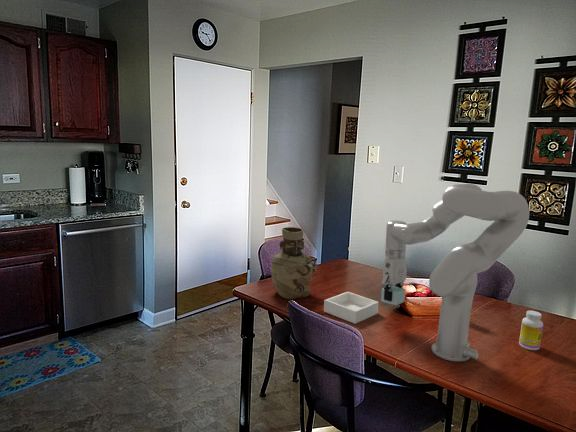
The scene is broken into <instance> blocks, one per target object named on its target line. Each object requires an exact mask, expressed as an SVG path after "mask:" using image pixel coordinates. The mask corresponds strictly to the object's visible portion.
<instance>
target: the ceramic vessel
mask: <svg viewBox="0 0 576 432" xmlns="http://www.w3.org/2000/svg"><path fill="white" fill-rule="evenodd" d="M281 234H282V238H283V239H282V240H281V241H280V242H279V249H280V250H281V251H280V252H278V253H277V254H276V255H274V256H273V258H272V261H271V265H270V273H271V280H272V284H273V288H274V289H275V292H276V293H277V294H278V295H279V296H280V297H281V298H283V299H284V300H296V299H303V298H304V299H305V298H308V296H309V295H310V282H311V281H312V278H313V277H312V276H313V273H314V274H317V269H318V264H317V263H316V262H313V261H312V259H311V257H310V256H309V255H308V254H307V253H305V252H304V251H303V250H304V249H305V242H304V240H302V239H303V236H304V229H303V228H300V227H295V226H291V227H290V226H288V227H283V228H282V229H281Z"/></svg>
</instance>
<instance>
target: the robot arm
mask: <svg viewBox="0 0 576 432" xmlns="http://www.w3.org/2000/svg"><path fill="white" fill-rule="evenodd" d="M465 216H466V217H471V218H474V219H478V220H481V221H488V222H492V221H494V222H492V223H491V224H490V225H488V226H487V227H486V228H485V229H484V230H483V232H481V234H480V235H479V236H478V237H477V238H476V239H475V240H474V241H471V242H468V243H465V244H464V243H463V244H460V245H458V246H455V247H454V248H452V249H451V250H450V251H449V252H448V253H447V254H446V255H445V257H444V258H443V259H442V260H441V261H440V262H439V263H438V265H436V267H435V268H434V269H433V270H432V272H431V274H430V276H429V280H428V284H429V288H430V290H431V292H432V294H433V293H434V294H436V295H437V296H440V297H442V302H441V303H440V310H439V318H438V328H437V329H438V330H437V336H436V337H437V339H436V342H433V344H432V345H431V351H432V353H433V354H434V355H435V356H437V357H438V358H440V359H443V360H446V361H450V362H456V363H457V362H466V361H468V360H470V358H472V359H475V360H477V359H478V358H479V353H478V350H476V349H473V348H471V347H470V345H471V343H470V342H468V338H469V337H468V336H469V328H470V321H471V312H472V306H473V300H474V296H475V293H476V289H477V285H478V275H477V274H479V273H483V272H486V271H487V270H489V269H490V268H491V267H492V266H493V265H494V264H495V263H496V261H497V260H499V259H500V258H501V256H502V255H503V254H505V252H506V251H507V250H508V249H509V248H510V247H511V245H513V244H514V243H515V241H517V240H518V239H519V238H520V236H522V234H523V232H524V231H525V229H526V228H527V226H528V223H529V219H530V207H529V204H528V202H527V199H526V198H525V197H524V196H523V195H522V194H520V193H519V192H516V191H513V190H498V191H486V190H483V189H482V188H481V187H480V186H478V185H476V184H474V183H461V184H459V183H458V184H453V185H450V186H449V187H447V188H446V189H445V190H444V192H443V193H442V199H440V200H439V201H438V202H436V203H435V204H434V205H433V206H432V215H431V216H430V217H427V218H426V219H424V220H423V221H420V222H414V223H413V222H412V223H406V221H404V220H390V221H387V223H386V229H385V230H386V231H385V251H384V253H385V254H384V257H385V258H384V264H383V271H382V281H381V285H382V288H384V300H387V301H390V302H391V301H392V291H391V290H392V286H395V287H399V288H403V287H404V282H405V281H406V280H407V258H406V250H407V246H409V245H417V244H421V243H426V242H429V241H431V240H433V239H435V238H437V237H438V236H440V235H442V234H443V233H444V232H445V231H446V230H448V228H450V226H451V225H452V224H455V222H457V221H459V220H460V219H462V218H463V217H465ZM389 286H390V287H389Z"/></svg>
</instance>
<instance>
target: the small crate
mask: <svg viewBox="0 0 576 432" xmlns="http://www.w3.org/2000/svg"><path fill="white" fill-rule="evenodd" d="M388 286H389V287H390V285H388ZM395 286H396V285H393V286H392V290H391V291H392V301H391V302H390V301H387V300H384V288H383V287H382V288H381V292H380V293H381V296H380V297H381V299H380V302H382V303H386V304H388V305H389V304H390V305H393V306H398V305H400V304H403V303H404V302H405V301H406V288H403V287H402V288H399V287H395Z"/></svg>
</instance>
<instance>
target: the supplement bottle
mask: <svg viewBox="0 0 576 432" xmlns="http://www.w3.org/2000/svg"><path fill="white" fill-rule="evenodd" d="M525 314H526V315H525V316H526V317H524V318H522V321H521V327H520V335H519V341H518V344H519V346H520V347H521V348H523V349H526V350H530V351H538V350H540V349H541V341H542V335H543V330H544V322H543V321H542V320H541V319H542V315H543V314H542V313H540V312H538V311H535V310H526V313H525Z"/></svg>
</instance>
